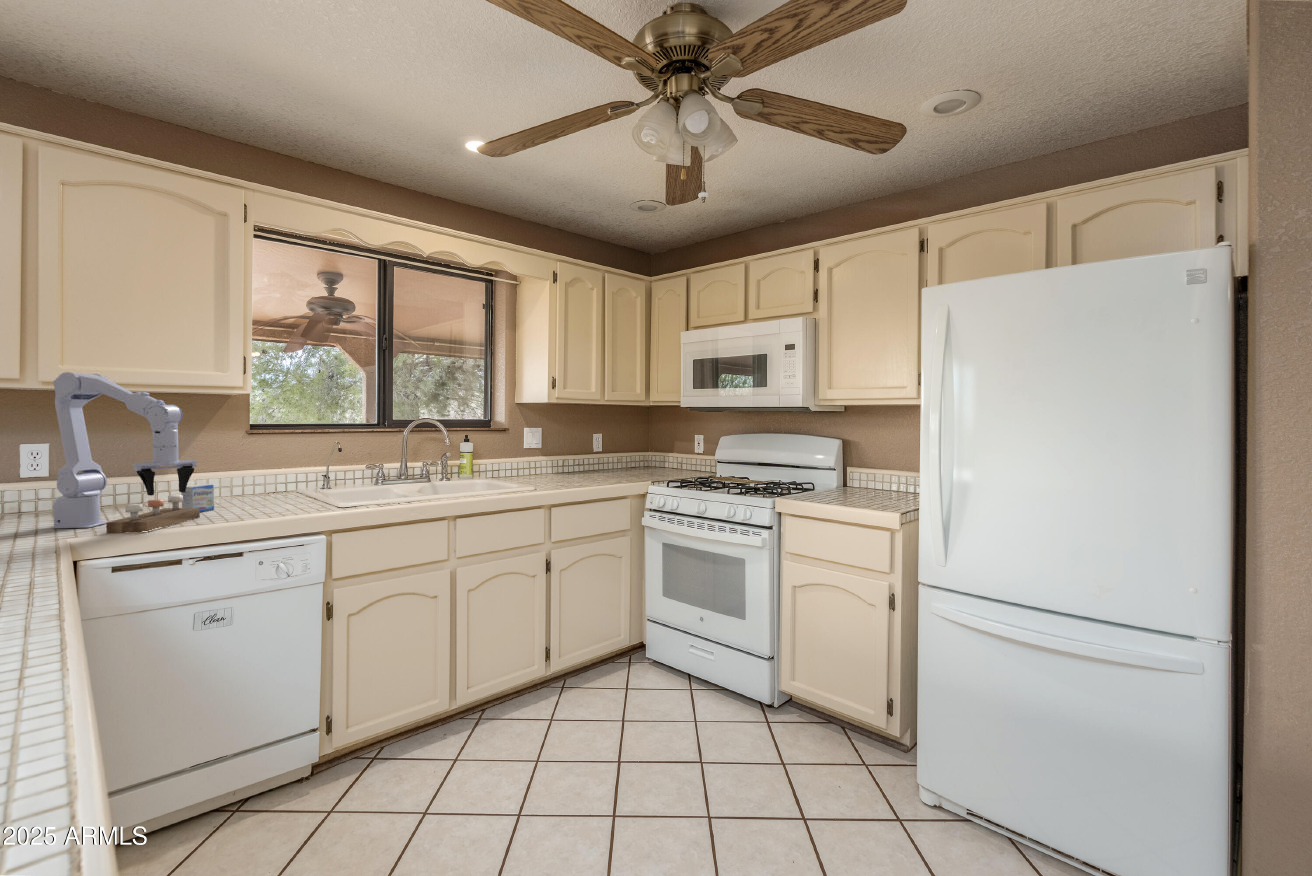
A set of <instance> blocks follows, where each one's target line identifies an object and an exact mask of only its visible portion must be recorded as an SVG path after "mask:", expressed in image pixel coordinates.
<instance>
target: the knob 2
mask: <svg viewBox="0 0 1312 876" xmlns="http://www.w3.org/2000/svg"><path fill="white" fill-rule="evenodd" d="M182 501H183V495H181V494H174V495H168V496H167V502H168V503H172V507H171V508H172V510H179V508H180V503H182Z"/></svg>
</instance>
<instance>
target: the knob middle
mask: <svg viewBox="0 0 1312 876" xmlns="http://www.w3.org/2000/svg"><path fill="white" fill-rule="evenodd" d="M164 506H165V503H164V499H163V498H154V499H149V500H147V508H152V509H151V511H153V515H160V509H161V508H160V507H164Z"/></svg>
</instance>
